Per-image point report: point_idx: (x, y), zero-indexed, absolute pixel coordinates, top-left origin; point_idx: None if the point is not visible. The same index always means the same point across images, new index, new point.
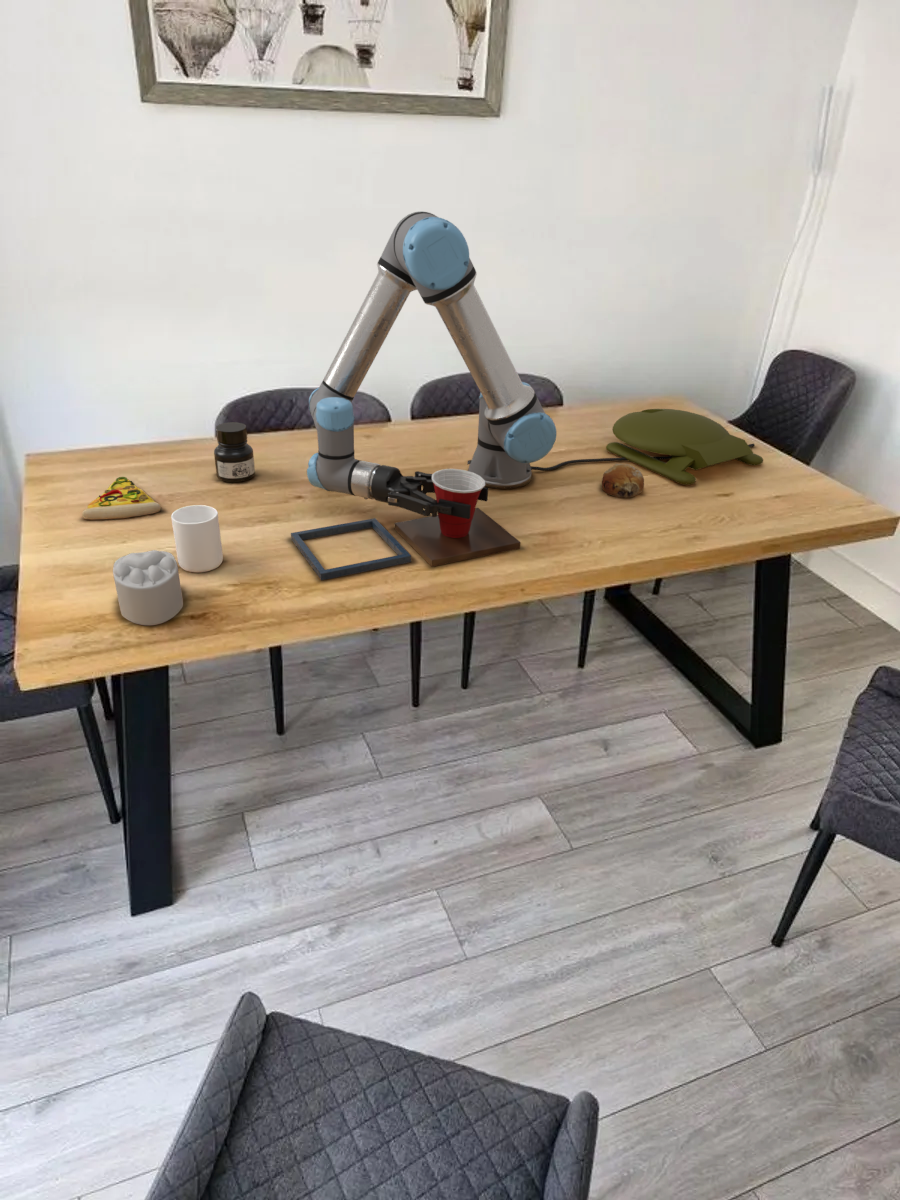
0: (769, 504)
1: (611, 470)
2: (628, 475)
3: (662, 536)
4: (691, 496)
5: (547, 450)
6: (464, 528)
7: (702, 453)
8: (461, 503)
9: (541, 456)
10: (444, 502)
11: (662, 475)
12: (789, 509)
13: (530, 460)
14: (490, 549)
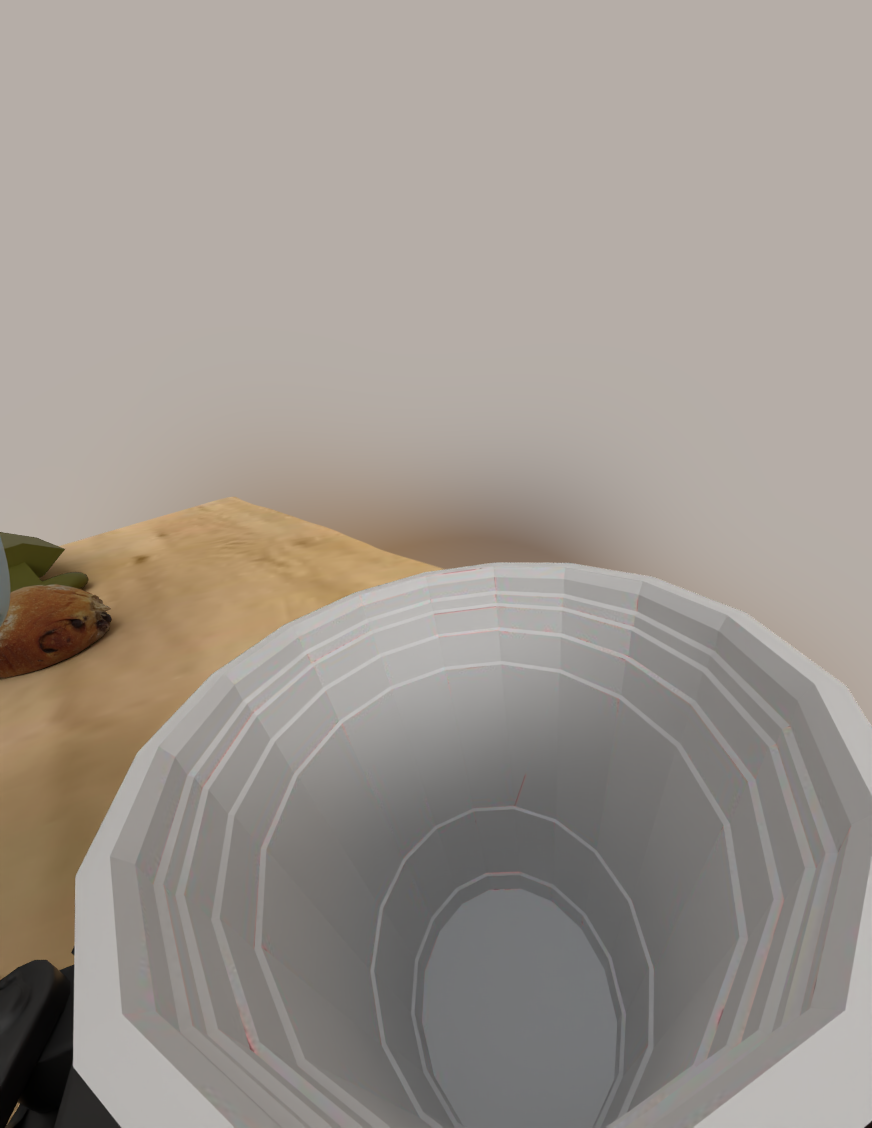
0: (186, 534)
1: (14, 615)
2: (67, 590)
3: (303, 561)
4: (134, 577)
5: (2, 544)
6: (554, 848)
7: (29, 543)
8: None
9: (9, 576)
10: None
11: None
12: (204, 524)
13: (7, 606)
14: None
